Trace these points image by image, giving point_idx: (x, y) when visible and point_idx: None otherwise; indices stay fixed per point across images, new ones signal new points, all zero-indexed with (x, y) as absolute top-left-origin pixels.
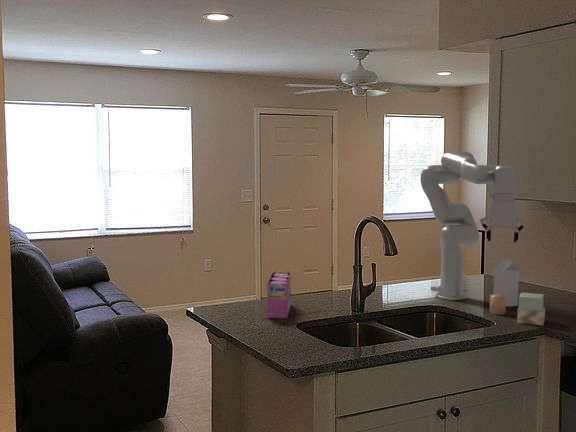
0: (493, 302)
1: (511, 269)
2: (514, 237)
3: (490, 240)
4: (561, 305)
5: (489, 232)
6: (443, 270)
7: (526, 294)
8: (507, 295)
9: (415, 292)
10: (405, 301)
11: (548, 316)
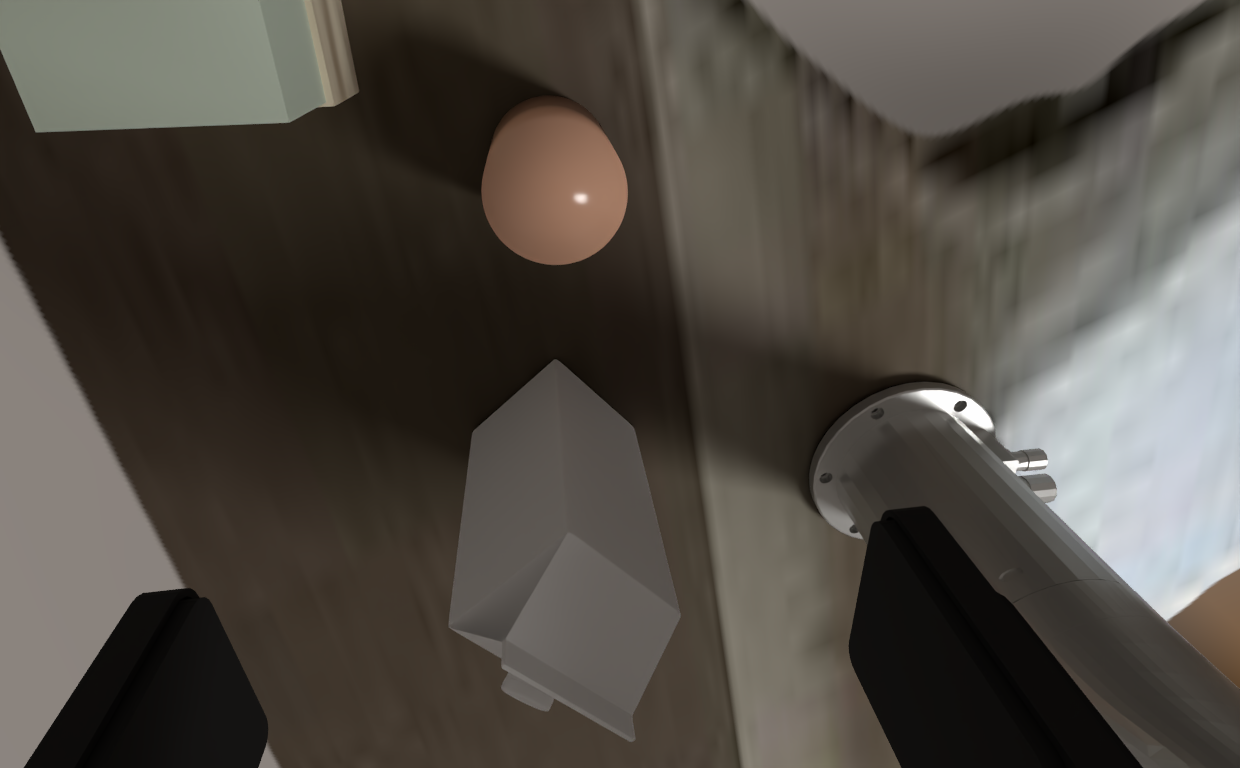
0: (580, 117)
1: (512, 608)
2: (101, 725)
3: (855, 608)
4: (240, 572)
5: (1057, 731)
6: (1080, 538)
7: (192, 27)
8: (530, 423)
9: (1107, 476)
10: (1210, 203)
11: (180, 236)
